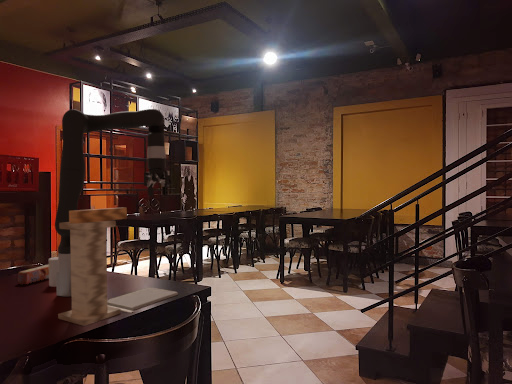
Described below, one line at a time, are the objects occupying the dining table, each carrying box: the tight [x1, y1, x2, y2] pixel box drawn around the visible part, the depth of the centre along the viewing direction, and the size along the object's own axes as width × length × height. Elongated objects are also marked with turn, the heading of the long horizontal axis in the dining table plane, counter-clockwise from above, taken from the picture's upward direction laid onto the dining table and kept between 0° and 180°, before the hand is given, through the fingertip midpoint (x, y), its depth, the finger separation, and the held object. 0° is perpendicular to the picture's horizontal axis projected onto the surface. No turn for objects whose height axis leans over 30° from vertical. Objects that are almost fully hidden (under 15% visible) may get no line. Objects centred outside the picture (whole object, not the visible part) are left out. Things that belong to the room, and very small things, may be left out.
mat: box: [107, 286, 179, 311], centre depth 150 cm, size 23×16×1 cm
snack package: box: [17, 263, 49, 285], centre depth 186 cm, size 21×7×7 cm, turn 159°
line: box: [107, 305, 135, 314], centre depth 139 cm, size 2×20×1 cm, turn 58°
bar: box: [69, 207, 128, 223], centre depth 135 cm, size 20×4×4 cm, turn 148°
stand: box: [57, 220, 122, 327], centre depth 131 cm, size 14×14×32 cm
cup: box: [48, 256, 58, 288], centre depth 176 cm, size 8×8×12 cm
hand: (157, 196), depth 163 cm, fingers open, 8 cm apart
